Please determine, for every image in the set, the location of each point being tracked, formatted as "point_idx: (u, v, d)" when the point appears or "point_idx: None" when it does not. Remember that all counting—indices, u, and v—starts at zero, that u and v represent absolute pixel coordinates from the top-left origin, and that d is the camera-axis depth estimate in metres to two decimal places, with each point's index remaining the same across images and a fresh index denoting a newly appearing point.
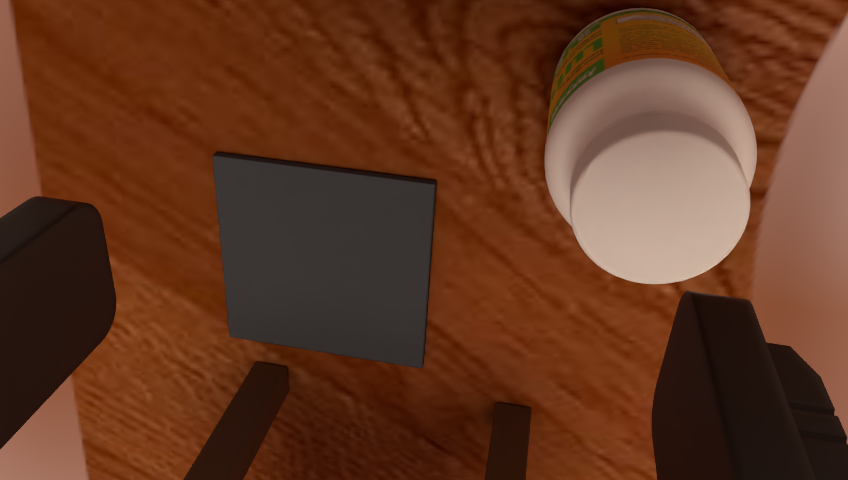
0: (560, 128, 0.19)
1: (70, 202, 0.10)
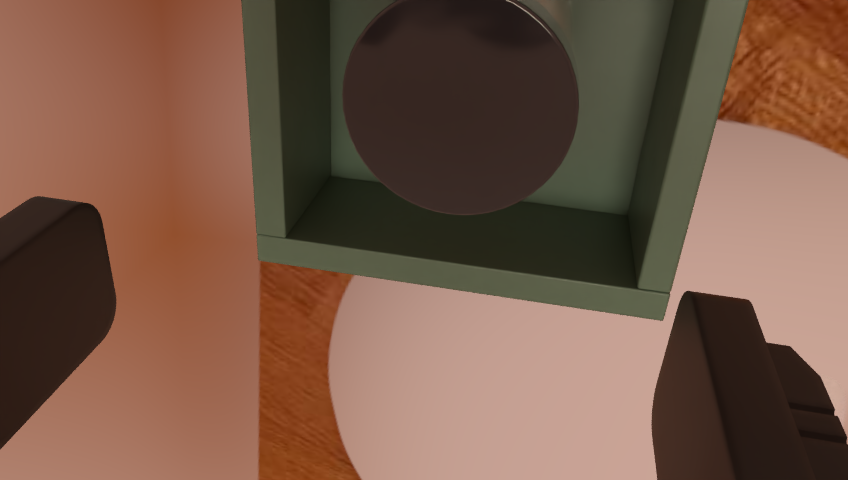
0: None
1: (70, 202, 0.10)
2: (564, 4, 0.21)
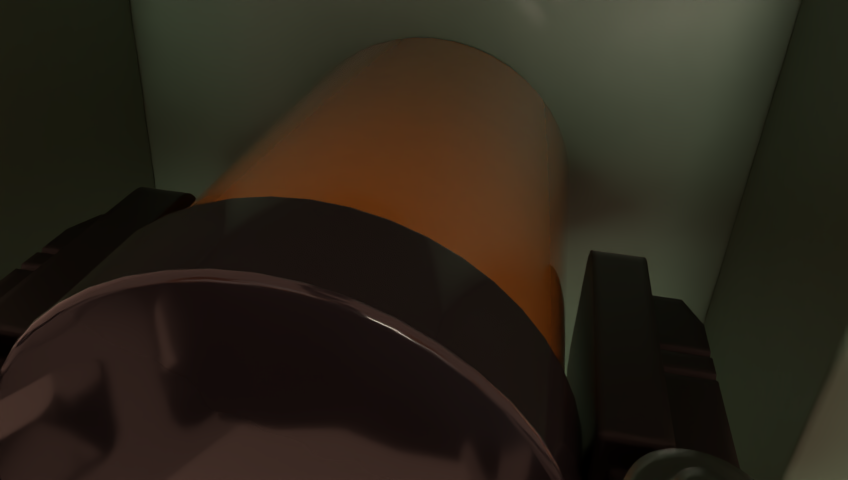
0: None
1: (174, 192, 0.10)
2: (552, 162, 0.11)
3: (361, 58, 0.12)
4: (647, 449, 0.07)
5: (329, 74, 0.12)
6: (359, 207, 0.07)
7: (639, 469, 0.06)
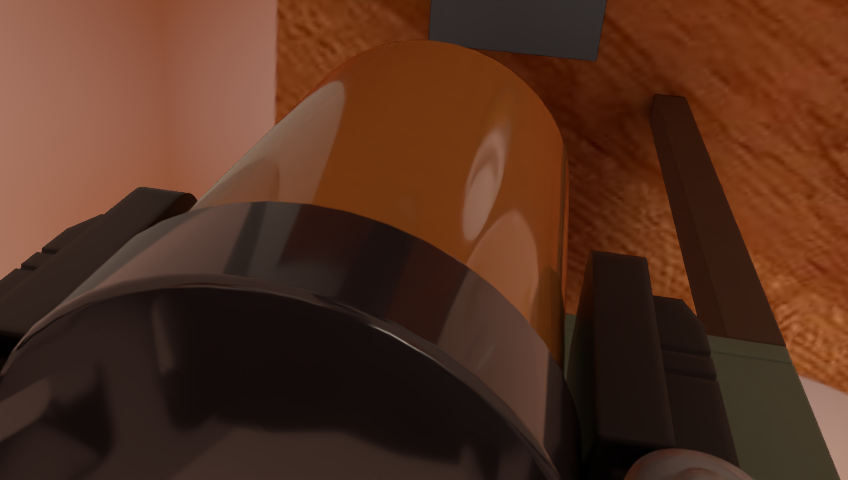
0: None
1: (174, 192, 0.10)
2: (552, 165, 0.11)
3: (361, 61, 0.12)
4: (647, 449, 0.07)
5: (329, 77, 0.12)
6: (359, 211, 0.07)
7: (639, 469, 0.06)
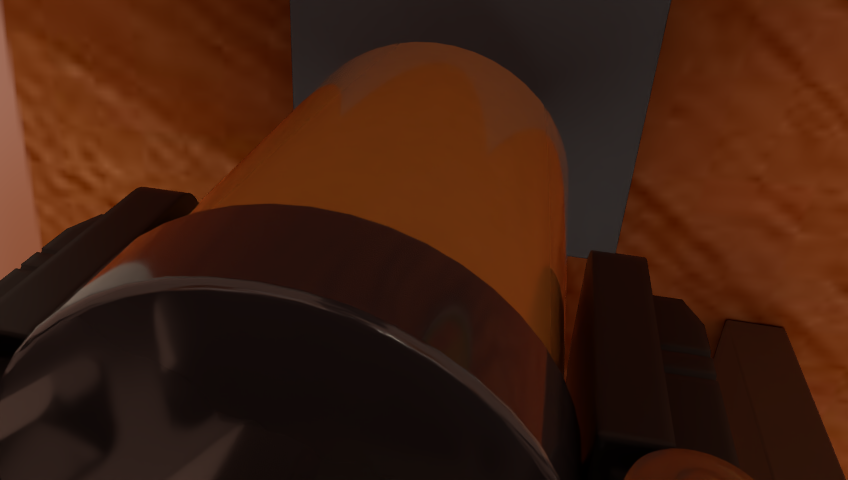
0: None
1: (174, 193, 0.10)
2: (552, 166, 0.11)
3: (361, 63, 0.12)
4: (647, 449, 0.07)
5: (329, 78, 0.12)
6: (358, 213, 0.07)
7: (639, 469, 0.06)
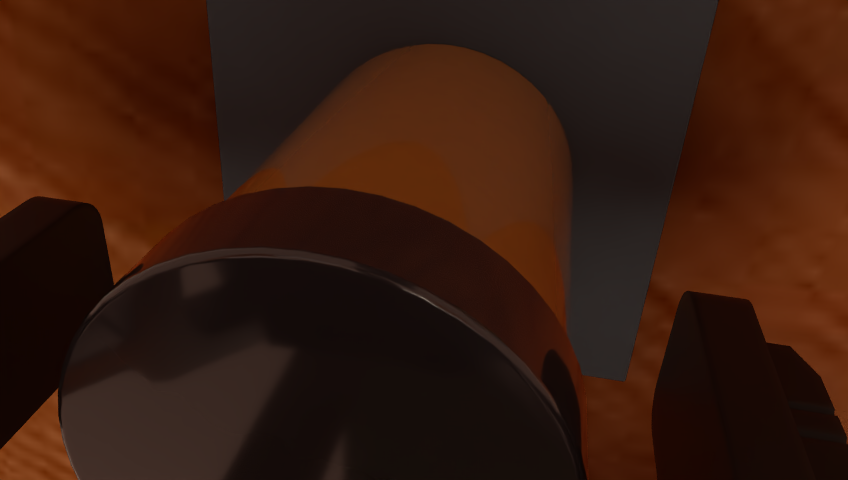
0: None
1: (70, 202, 0.10)
2: (557, 159, 0.12)
3: (378, 63, 0.13)
4: None
5: (348, 78, 0.13)
6: (387, 196, 0.08)
7: None
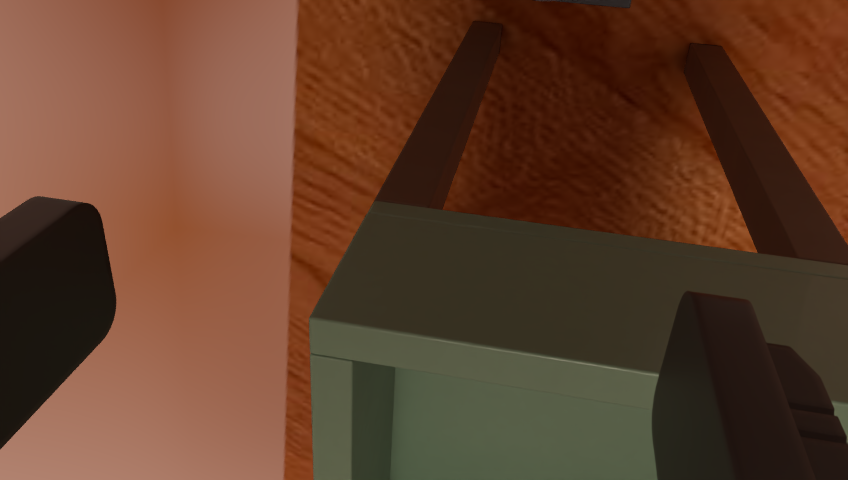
0: None
1: (70, 202, 0.10)
2: None
3: None
4: None
5: None
6: None
7: None
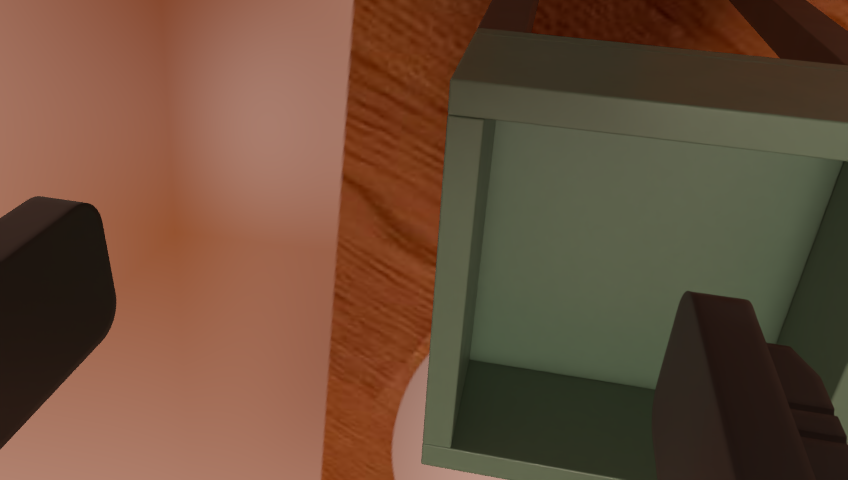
0: None
1: (70, 202, 0.10)
2: None
3: None
4: None
5: None
6: None
7: None
